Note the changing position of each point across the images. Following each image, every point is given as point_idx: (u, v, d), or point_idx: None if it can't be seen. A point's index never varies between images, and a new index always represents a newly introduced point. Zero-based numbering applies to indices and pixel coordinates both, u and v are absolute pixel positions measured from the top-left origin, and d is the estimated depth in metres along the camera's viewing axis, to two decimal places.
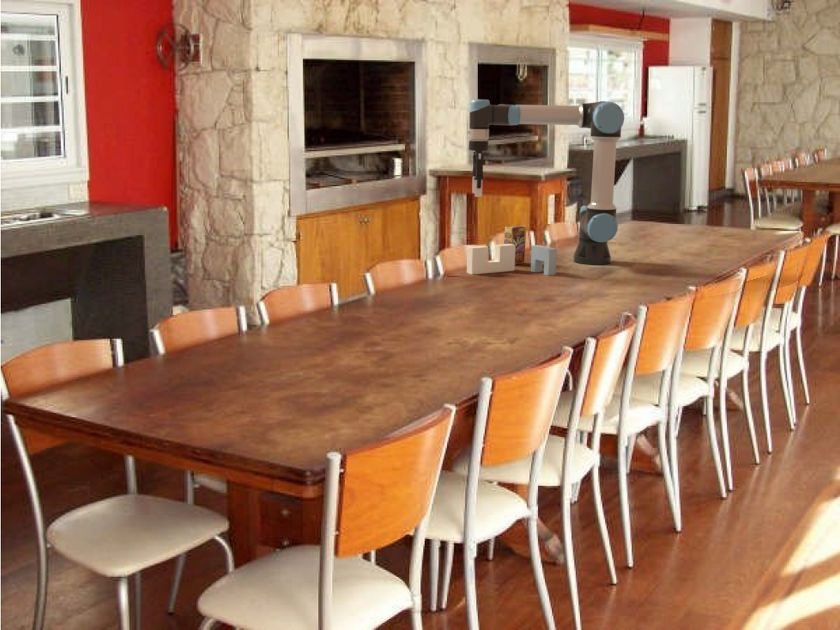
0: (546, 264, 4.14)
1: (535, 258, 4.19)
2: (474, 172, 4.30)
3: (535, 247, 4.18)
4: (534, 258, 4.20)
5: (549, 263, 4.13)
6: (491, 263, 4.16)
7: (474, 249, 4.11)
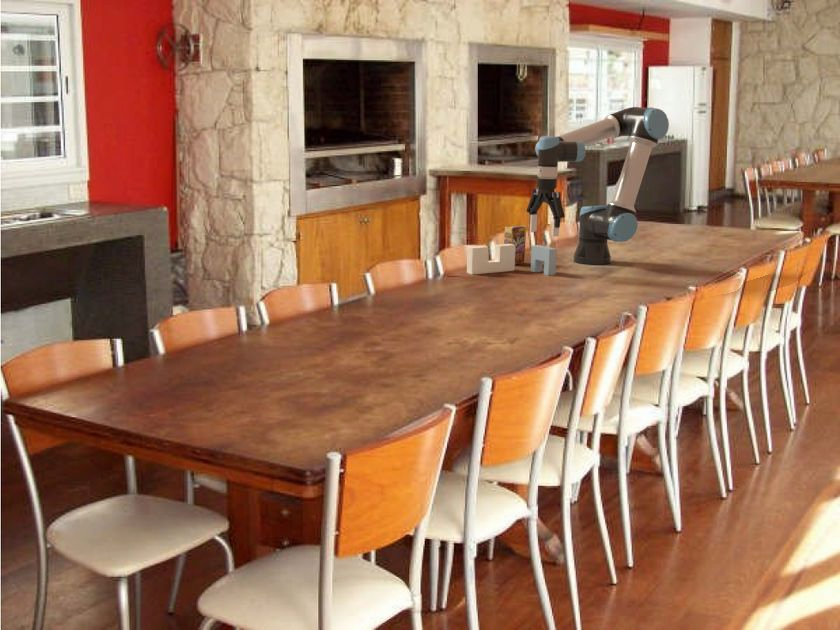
0: (546, 264, 4.14)
1: (535, 258, 4.19)
2: (533, 210, 4.18)
3: (535, 247, 4.18)
4: (534, 258, 4.20)
5: (549, 263, 4.13)
6: (491, 263, 4.16)
7: (474, 249, 4.11)
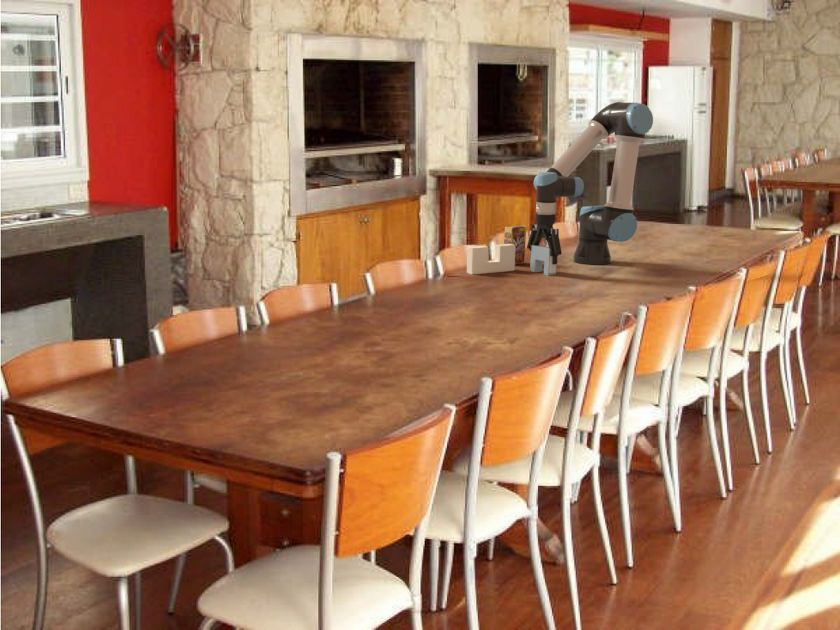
0: (546, 264, 4.14)
1: (535, 258, 4.19)
2: None
3: (535, 247, 4.18)
4: (534, 258, 4.20)
5: (549, 263, 4.13)
6: (491, 263, 4.16)
7: (474, 249, 4.11)
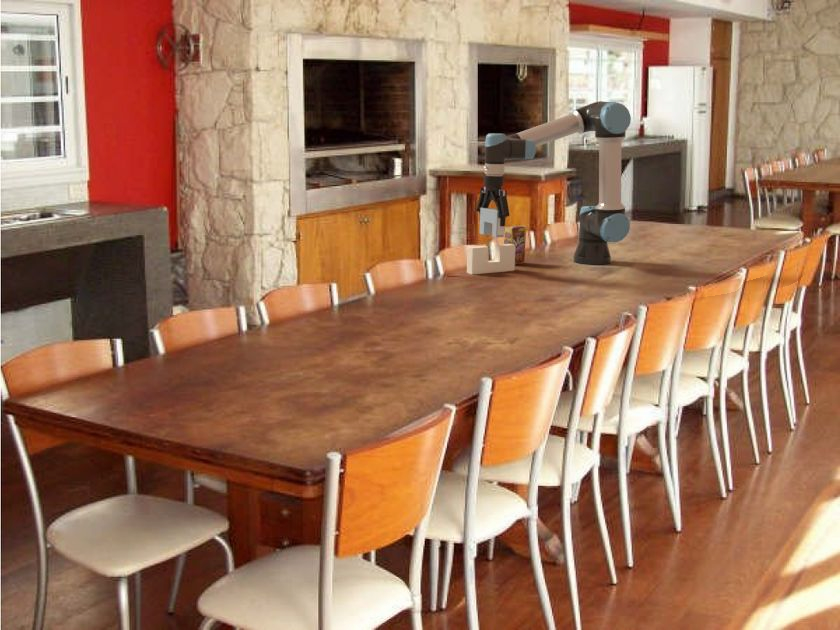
0: (494, 226, 4.11)
1: (484, 220, 4.16)
2: None
3: (484, 209, 4.16)
4: (483, 220, 4.17)
5: (497, 225, 4.10)
6: (491, 263, 4.16)
7: (474, 249, 4.11)
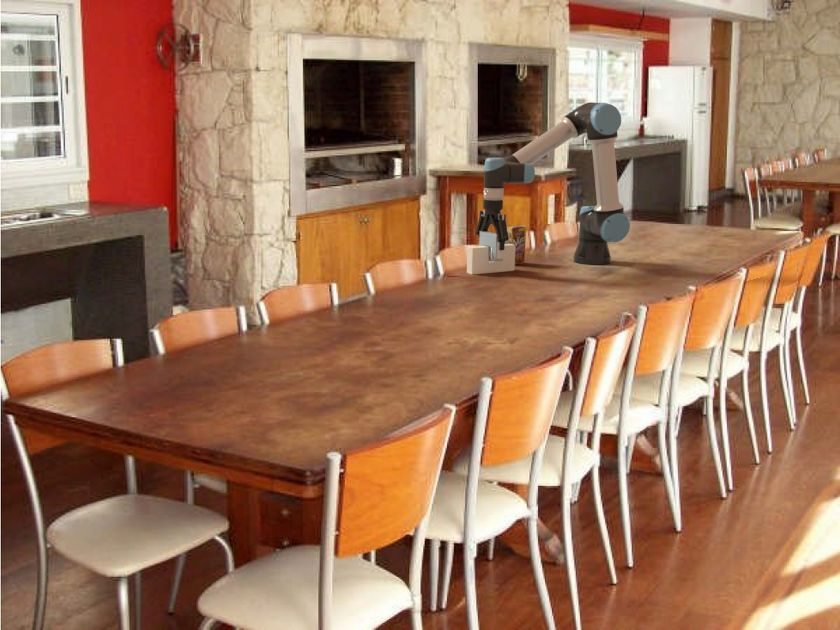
0: (493, 250, 4.13)
1: (483, 244, 4.18)
2: None
3: (483, 233, 4.18)
4: (482, 244, 4.19)
5: (496, 249, 4.12)
6: (491, 263, 4.16)
7: (474, 249, 4.11)
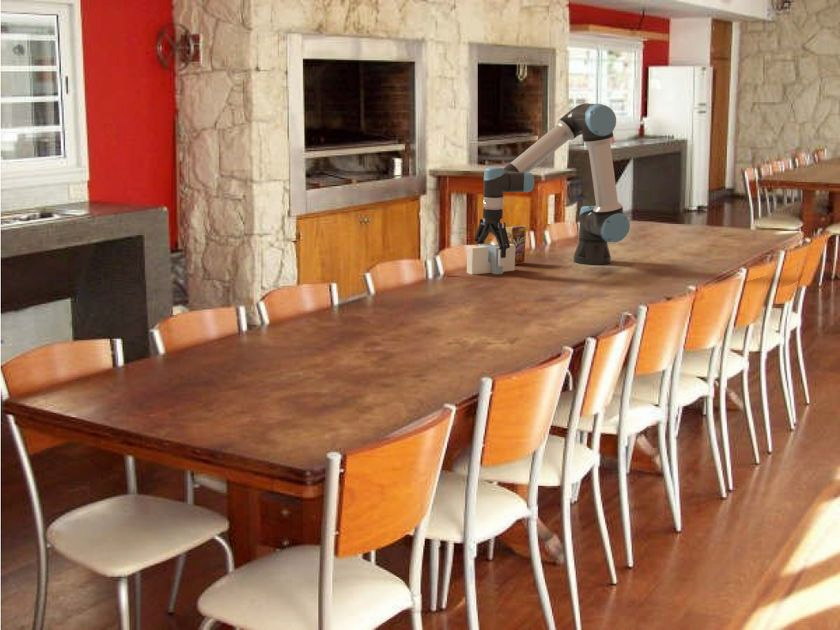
0: (493, 263, 4.14)
1: None
2: (481, 240, 4.21)
3: None
4: None
5: (496, 262, 4.13)
6: None
7: (474, 249, 4.11)
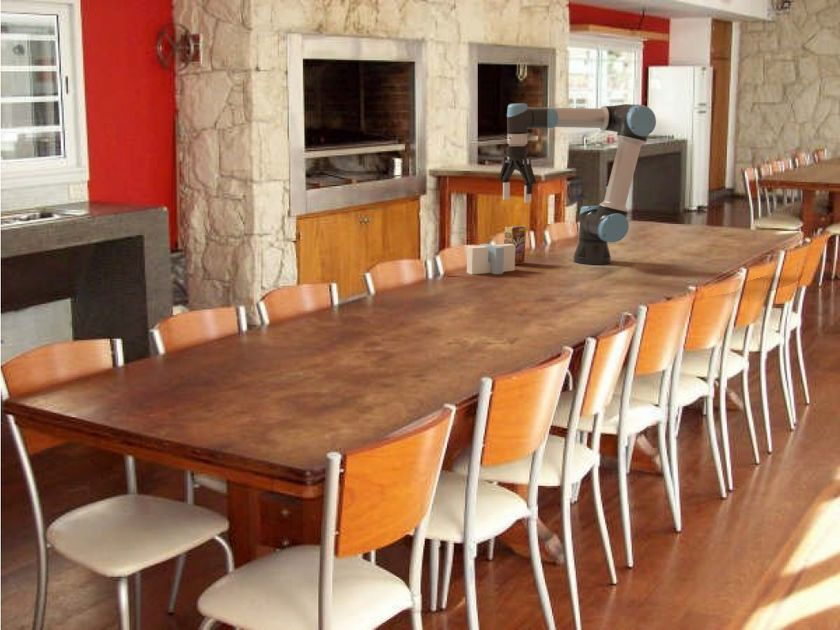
0: (493, 263, 4.14)
1: None
2: (505, 178, 4.21)
3: None
4: None
5: (496, 262, 4.13)
6: (491, 263, 4.16)
7: (474, 249, 4.11)
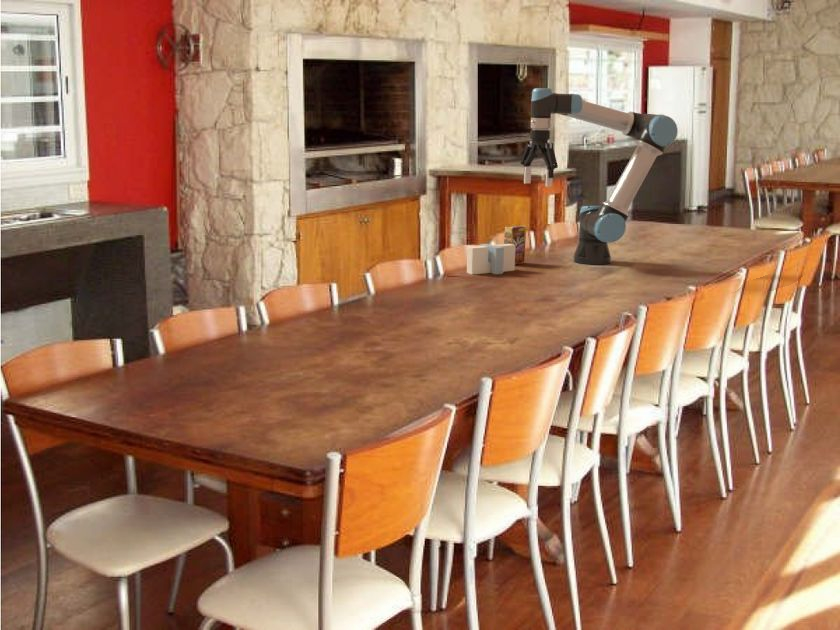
0: (493, 263, 4.14)
1: None
2: (527, 162, 4.24)
3: None
4: None
5: (496, 262, 4.13)
6: None
7: (474, 249, 4.11)
